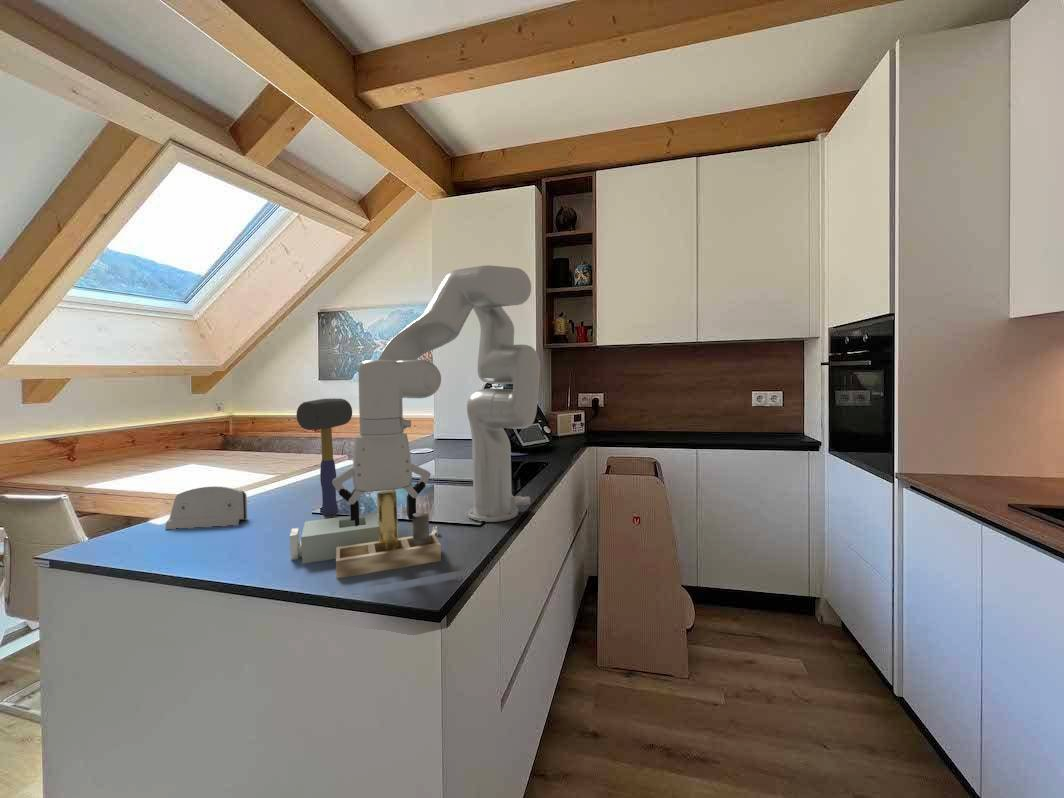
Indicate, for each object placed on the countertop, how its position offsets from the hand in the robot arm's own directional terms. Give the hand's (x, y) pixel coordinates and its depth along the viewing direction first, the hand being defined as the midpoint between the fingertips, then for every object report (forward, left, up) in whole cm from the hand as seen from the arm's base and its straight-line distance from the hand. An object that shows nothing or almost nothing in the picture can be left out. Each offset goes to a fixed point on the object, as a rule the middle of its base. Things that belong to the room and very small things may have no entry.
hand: (384, 520), depth 87 cm
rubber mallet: (+10, -38, -9) cm, 41 cm away
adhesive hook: (-10, -12, -10) cm, 18 cm away
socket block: (+7, -11, -9) cm, 16 cm away
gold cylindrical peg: (-1, 0, -8) cm, 8 cm away
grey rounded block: (+38, -47, -9) cm, 61 cm away
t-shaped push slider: (+12, -11, -9) cm, 19 cm away
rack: (-1, 0, -9) cm, 9 cm away
